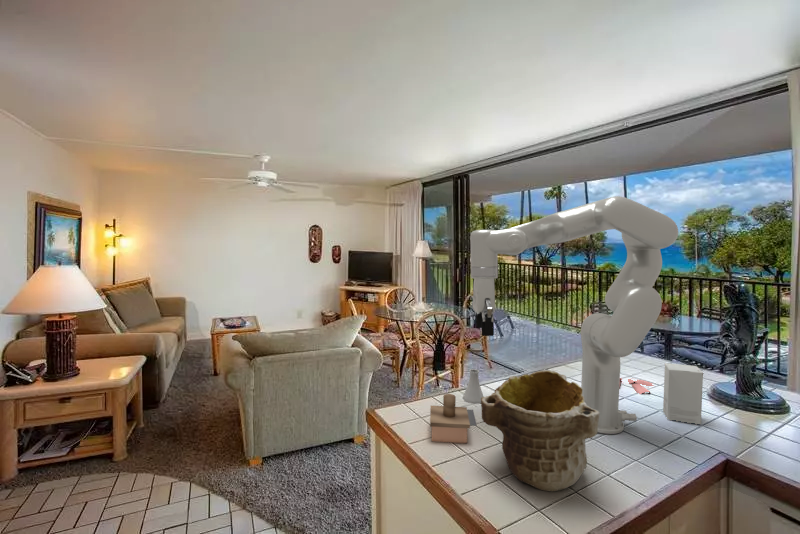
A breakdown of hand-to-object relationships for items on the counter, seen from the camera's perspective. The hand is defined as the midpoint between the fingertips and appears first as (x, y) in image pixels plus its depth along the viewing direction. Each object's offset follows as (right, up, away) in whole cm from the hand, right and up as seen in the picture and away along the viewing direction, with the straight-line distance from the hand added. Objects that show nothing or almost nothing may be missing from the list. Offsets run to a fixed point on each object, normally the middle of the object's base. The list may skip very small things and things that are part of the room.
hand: (484, 331), depth 108 cm
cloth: (+57, -26, +27) cm, 68 cm away
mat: (-8, -26, +1) cm, 27 cm away
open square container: (-12, -26, -9) cm, 30 cm away
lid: (-12, -22, -9) cm, 26 cm away
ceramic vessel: (+5, -28, -24) cm, 37 cm away
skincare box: (+59, -26, +2) cm, 64 cm away
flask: (-1, -25, +13) cm, 28 cm away
